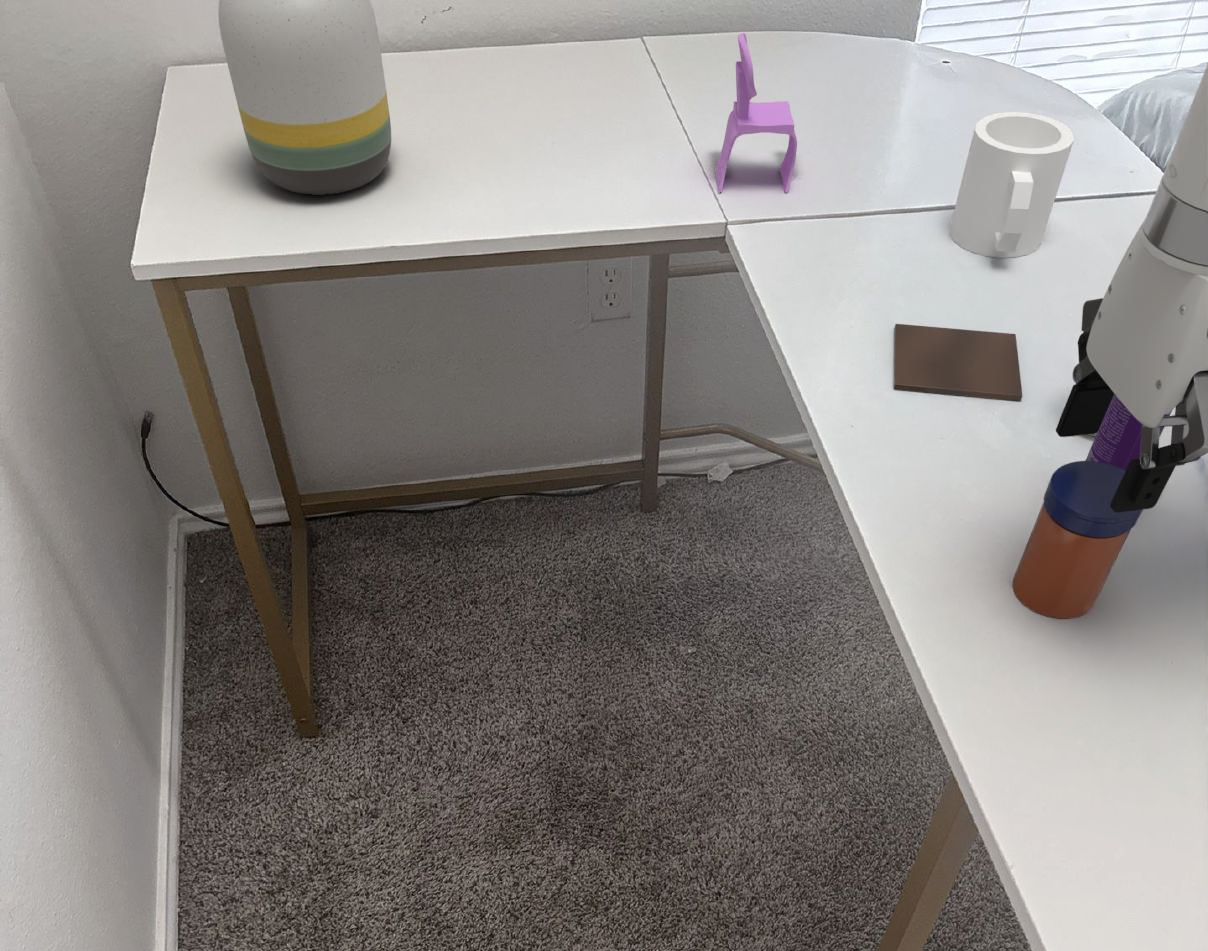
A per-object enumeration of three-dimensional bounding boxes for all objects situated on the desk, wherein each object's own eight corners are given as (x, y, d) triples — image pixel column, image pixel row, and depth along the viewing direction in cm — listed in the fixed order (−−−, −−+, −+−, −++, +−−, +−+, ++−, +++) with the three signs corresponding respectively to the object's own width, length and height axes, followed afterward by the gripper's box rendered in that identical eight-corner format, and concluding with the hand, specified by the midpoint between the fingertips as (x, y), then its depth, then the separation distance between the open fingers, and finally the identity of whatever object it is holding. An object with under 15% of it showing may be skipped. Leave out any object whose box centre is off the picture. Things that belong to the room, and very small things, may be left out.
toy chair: (793, 197, 128) (812, 50, 116) (718, 197, 128) (730, 51, 116) (785, 165, 133) (803, 21, 121) (714, 165, 133) (724, 22, 121)
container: (1125, 518, 93) (1202, 356, 81) (1069, 505, 94) (1137, 344, 82) (1131, 486, 96) (1206, 325, 84) (1076, 474, 97) (1143, 313, 85)
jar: (1091, 567, 90) (1136, 471, 82) (1100, 623, 86) (1147, 527, 78) (1010, 559, 90) (1046, 463, 83) (1014, 613, 86) (1053, 518, 79)
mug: (1052, 275, 118) (1087, 170, 109) (957, 271, 118) (984, 166, 110) (1034, 215, 126) (1065, 113, 117) (944, 211, 126) (969, 110, 118)
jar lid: (1132, 484, 83) (1141, 465, 82) (1144, 542, 79) (1154, 523, 78) (1040, 475, 84) (1047, 456, 82) (1046, 532, 80) (1054, 513, 78)
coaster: (1014, 339, 110) (1015, 333, 110) (1020, 401, 104) (1022, 395, 103) (894, 328, 111) (895, 323, 111) (893, 389, 105) (894, 384, 104)
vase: (296, 223, 125) (239, -31, 105) (233, 169, 133) (170, -76, 114) (423, 183, 131) (392, -65, 111) (356, 133, 139) (315, -105, 120)
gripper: (1357, 291, 60) (1211, 541, 74) (1198, 153, 70) (1096, 396, 84) (1233, 303, 59) (1109, 554, 73) (1090, 161, 69) (1005, 405, 83)
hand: (1102, 468), depth 79 cm, fingers open, 8 cm apart
